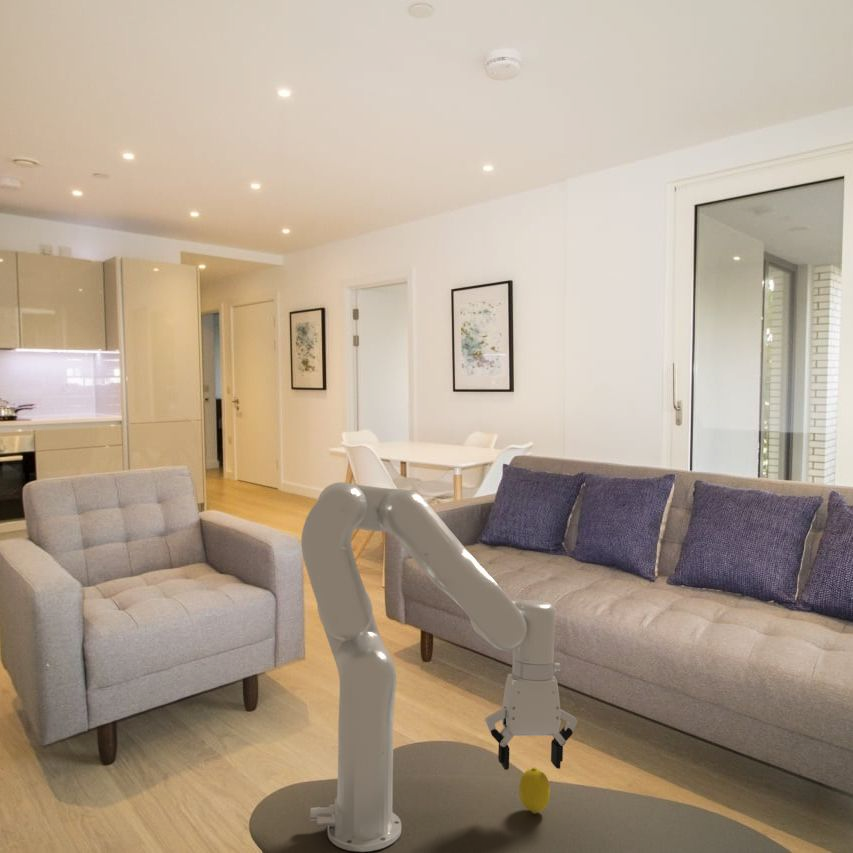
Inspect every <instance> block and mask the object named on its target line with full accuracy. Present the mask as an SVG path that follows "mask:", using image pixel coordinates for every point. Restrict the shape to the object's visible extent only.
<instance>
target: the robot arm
mask: <svg viewBox="0 0 853 853" xmlns="http://www.w3.org/2000/svg"><path fill="white" fill-rule="evenodd" d="M355 530H364V531H372V532H385V533H391V535H392V536H393V537H394V538H395V539H396V540H397V541H398V543H399V544H400V545H401V547H402V548H404V550H405V551H406V552H407V553H408V555H410V557H411V558H412V559H413V561H414V562H415V563H416V564H417V565H418V566H419V568H420V569H421V570H422V571H423V573H424V574H425V575H426V576H427V578H428V579H429V580H431V582H432V583H433V584H434V585H435V586H436V587H437V588H438V589H440V590H441V591H442V592H443V593H445V594H446V595H447V596H448V597H449V598H450V599H452V600H453V601H454V602H455V604H457V605H458V607H460V609H462V611H463V612H464V613H465V614H466V615H467V616H468V617H469V622H470V624H471V627H472V628H473V630H474V631H475V633H476V634H477V635H479V636H480V637H481V638H483V639H484V640H485V641H486V642H488V643H489V644H490V645H491V646H492V647H494V648H495V649H497V650H500V651H512V666H511V667H512V671H511V673H508V674H507V677H506V680H505V686H504V691H503V699H502V708H500V709H499V710H498V711H496V712H494V713H492V714H490V715H488V716H486V717H485V718H484V721H485V723H486V726H487V729H488V730H489V733H490V735H491V736H492V737H493V738H494V740H495V741H496V742H498V752H497V758H498V759H497V760H498V762H499V764H501V766H502V767H503V770H505V771H508V770H509V769H510V746H509V745H508V744H509V743H510V741H511V740H512V739H513V738H514V736H515V737H538V736H539V737H541V736H542V737H543V736H545V737H547V736H552V737H553V739H551V741H550V745H551V746H550V748H551V749H550V762H551V764H552V765H553V766H554V767H555V768H556V769H559V770H561V763H562V762H563V758H564V755H563V754H564V746H565V745H566V743H567V741H568V740H569V738H570V737H571V736H572V735H573V732H574V730H575V728H576V726H577V724H578V719H577V717H575V716H574V715H572V714H571V713H568V712H567V711H565V710H563V709H561V702H560V693H559V692H560V691H559V687H558V686H559V684H558V680H557V677H556V676H555V675H556V674H555V673H556V672H557V671H559V672H560V671H561V670H562V665H561V663H560V662H556V661H554V660H555V624H556V623H555V622H556V611H555V607H554V605H553V604H551V603H550V602H548V601H544V600H537V599H524V600H523V599H522V600H512V599H511V598H510V597H509V596H508V595H507V593H506V592H505V591H504V590H503V588H501V586H500V585H499V584H498V583H497V582H496V580H494V578H493V577H492V576H491V575H490V574H489V573H488V572H487V571H486V570H485V569H484V567H483V566H482V565H480V563H479V562H478V561H477V560H476V558H475V557H474V555H472V554H471V552H469V550H468V549H467V548H466V547H465V546H464V545H463V543H462V542H460V540H459V539H458V538H457V536H456V535H455V534H454V533H453V531H451V529H450V528H449V527H448V526H447V524H446V523H445V522H444V521H443V520H442V518H441V517H440V516H439V515H438V514H437V512H436V511H435V510H434V509H433V507H432V506H431V505H430V504H429V503H428V502H427V501H426V499H425V498H424V497H423V496H422V495H421V494H419V493H418V492H416V491H414V490H411V489H402V488H401V489H400V488H387V487H377V486H370V485H361V484H355V483H350V482H343V481H341V482H334V483H332V484H329V485H328V486H325V488H324V489H323V490H322V491H321V492H320V494H319V497H318V498H317V501H316V502H315V504H314V505H313V506H312V507H311V509H310V511H309V512H308V514H307V515H306V518H305V521H304V524H303V528H302V533H301V540H300V542H301V544H300V545H301V553H302V557H303V561H304V565H305V568H306V569H305V570H306V572H307V575H308V579H309V582H310V585H311V588H312V590H313V591H312V592H313V595H314V598H315V600H316V604H317V608H316V609H317V612H318V617H319V620H320V622H321V624H322V627H323V629H324V632H325V635H326V638H327V640H328V641H327V642H328V644H329V647H330V650H331V653H332V656H333V658H334V662H335V664H336V668H337V673H338V674H337V675H338V678H339V679H338V681H339V702H338V703H339V704H338V721H337V722H338V724H337V725H338V727H337V728H338V730H337V739H338V740H337V741H338V742H337V792H336V793H337V794H336V797H335V800H334V803H333V804H329V806H327V807H326V806H325V807H321V806H317V807H310V814H309V815H310V820H309V821H314V822H315V821H317V823H316V827H325V826H327V837H328V840H329V841H330V842H331V843H332V844H333V845H335V846H336V847H338V848H340V849H343V850H346V851H348V852H349V851H350V852H355V853H357V852H358V853H366V852H368V853H369V852H373V851H378V850H382V849H385V848H387V847H388V846H390V845H392V844H394V843H395V842H396V841H397V840H398V839H399V838H400V836H401V834H402V820H401V819H400V817H399V816H398V815H397V814H395V812H393V793H394V792H393V791H394V790H393V789H394V788H393V785H394V783H393V782H394V781H393V780H394V778H393V777H394V774H393V773H394V711H395V699H396V698H395V697H396V690H397V673H396V672H397V671H396V668H395V667H396V666H395V663H394V660H393V659H392V655H391V654H390V652H389V651H388V649H387V648H386V646H385V644H384V642H383V639H382V636H381V634H380V630H379V628H378V625H377V622H376V619H375V615H374V613H373V610H374V609H373V604H372V601H371V598H370V595H369V594H368V592H367V590H366V588H365V585H364V583H363V580H362V577H361V574H360V572H359V569H358V565H357V562H356V558H355V554H354V551H353V548H352V538H353V534H354V532H355ZM561 719H562V720H564V721H565V722H566V724H565V726H563V728H561V723H562V722H561ZM500 721H501V724H502V726H503V728H502V729H500V731H499V730H498V729H497V727H496V724H497V723H499V722H500Z"/></svg>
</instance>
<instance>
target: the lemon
mask: <svg viewBox="0 0 853 853" xmlns="http://www.w3.org/2000/svg"><path fill="white" fill-rule="evenodd" d="M518 788H519V789H518V790H519V791H518V792H519V798H520V801H521V803H522V805H523V806H524V807H525V809H527V810H528V811H530V812H532V814H535V815H536V814H537V813H539V812H541V811H543V810H545V809H546V807H547V806H548V804H549V801H550V797H551V787H550V782H549V780H548V777H547V775H546V774H545V773H544V772H543V771H542V770H540V769H539V768H537V767H535V766H534V767H532V768H529V769H527V770H526V771H525V772H523V774H522V776H521V777H520V782H519V786H518Z"/></svg>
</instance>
